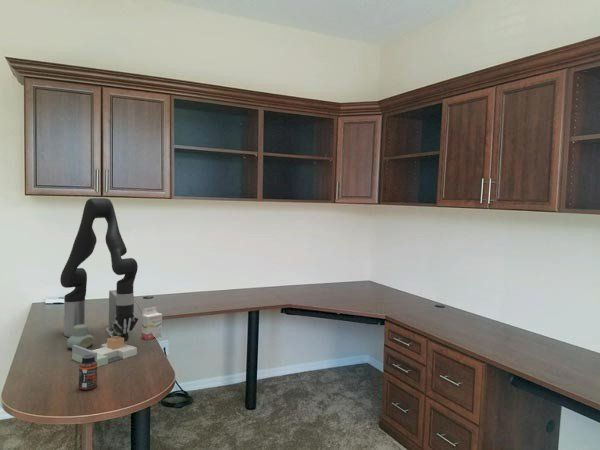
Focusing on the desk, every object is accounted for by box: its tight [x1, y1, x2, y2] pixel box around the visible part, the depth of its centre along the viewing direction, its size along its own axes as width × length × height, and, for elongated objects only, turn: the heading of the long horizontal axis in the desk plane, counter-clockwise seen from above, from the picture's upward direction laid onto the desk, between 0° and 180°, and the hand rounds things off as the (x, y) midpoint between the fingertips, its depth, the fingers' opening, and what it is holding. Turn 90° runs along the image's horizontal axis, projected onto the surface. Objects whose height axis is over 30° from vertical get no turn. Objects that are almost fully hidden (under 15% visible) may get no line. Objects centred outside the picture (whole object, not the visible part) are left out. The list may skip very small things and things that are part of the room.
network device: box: [105, 289, 130, 338], centre depth 218 cm, size 26×9×20 cm, turn 33°
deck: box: [71, 342, 138, 368], centre depth 183 cm, size 16×20×6 cm
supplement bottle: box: [78, 355, 98, 391], centre depth 152 cm, size 6×6×11 cm
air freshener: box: [66, 323, 95, 349], centre depth 194 cm, size 11×8×10 cm
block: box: [106, 335, 125, 350], centre depth 187 cm, size 5×5×4 cm
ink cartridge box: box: [141, 306, 163, 341], centre depth 211 cm, size 9×5×15 cm, turn 141°
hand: (124, 341), depth 190 cm, fingers closed
